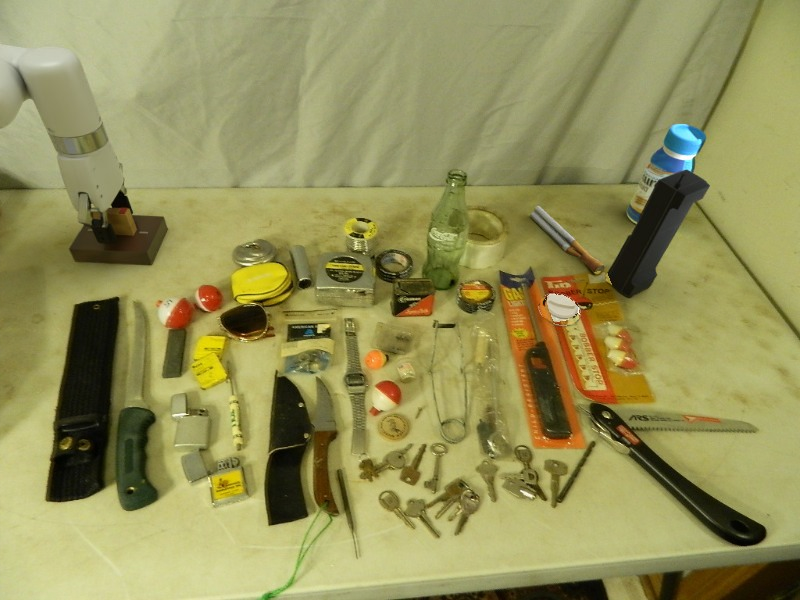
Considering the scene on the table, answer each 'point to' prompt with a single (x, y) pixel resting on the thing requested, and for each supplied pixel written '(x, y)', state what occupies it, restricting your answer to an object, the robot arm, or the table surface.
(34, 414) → the table surface
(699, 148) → the beverage bottle
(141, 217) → the dark brown flat block
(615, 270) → the black long block
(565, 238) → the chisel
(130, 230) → the light wood flat block
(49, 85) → the robot arm
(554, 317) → the stove knob
